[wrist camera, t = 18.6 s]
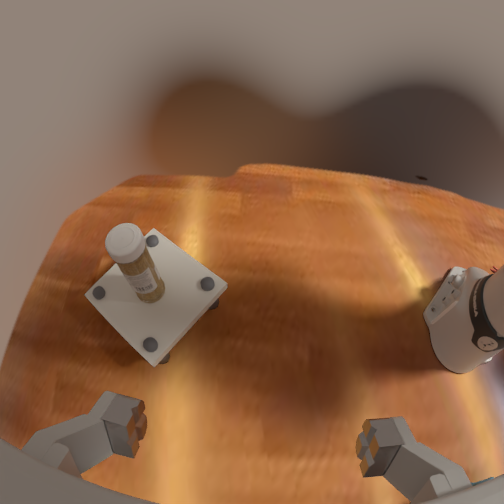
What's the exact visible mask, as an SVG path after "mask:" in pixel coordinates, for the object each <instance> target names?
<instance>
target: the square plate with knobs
mask: <svg viewBox="0 0 504 504" xmlns="http://www.w3.org/2000/svg"><path fill="white" fill-rule="evenodd" d="M144 239H145V245H146V247H147V249H148V251H149V254H150V256H151V258H152V260H153V262H154V263H155V265H156V268H157V270H158V272H159V274H160V277H161V279H162V280H163V281H164V284H165V293H164V295H163V296H162V297H161V299H160V300H158V301H156V302H154V303H145V302H143V301H141V300H140V299H139V298H138V296H137V294H136V292H135V291H134V290H133V289H132V287H131V286H130V284H129V283H128V281H127V280H126V278H125V277H124V275H123V274H122V272H121V270H120V268H119V266H118V265H117V263H116V264H114V265H113V266H112V267H111V268H110V269H109V270H108V271H107V272H106V273H105V274H104V275H103V276H102V277H101V278H100V279H99V280H98V281H97V282H96V283H95V284H94V285H93V286H92V287H91V288H90V289H89V290H88V291H87V292H86V293H85V294H84V295H85V296H86V298H87V299H88V300H89V301H90V302H91V303H92V304H93V306H94V307H95V308H96V309H97V310H98V311H99V312H100V313H101V314H102V315H103V317H104V318H105V319H106V320H107V321H108V322H109V323H110V324H111V325H112V326H113V327H114V328H115V329H116V330H117V331H118V333H119V334H120V335H121V336H122V337H123V338H124V339H125V340H126V341H127V342H128V343H129V344H130V345H131V346H132V347H133V348H134V349H135V350H136V351H137V352H138V353H139V354H140V355H141V356H143V357H144V358H145V359H146V360H147V361H148V362H149V363H150V364H151V365H152V366H153V367H155V366H156V365H157V364H158V363H160V364H164V363H166V362H168V360H169V358H170V355H169V353H168V352H169V351H170V350H171V349H172V348H173V347H174V346H175V345H176V344H177V342H178V341H179V340H180V339H181V338H182V337H183V336H184V335H185V334H186V333H187V332H188V330H189V329H190V328H191V327H192V326H193V325H194V324H195V323H196V322H197V321H198V319H199V318H200V317H201V316H202V315H203V314H204V313H205V312H206V311H207V310H208V309H215V308H216V307H217V306H218V305H219V300H218V298H219V296H220V295H221V294H222V293H223V292H224V291H225V290H226V289H227V288H228V286H227V282H225V281H224V280H222V279H221V278H220V277H218V276H217V275H216V274H214V273H213V272H211V271H210V270H209V269H207V268H206V267H205V266H203V265H202V264H201V263H199V262H198V261H197V260H195V259H194V258H193V257H191V256H190V255H189V254H187V253H186V252H185V251H183V250H182V249H181V248H179V247H178V246H177V245H175V244H174V243H173V242H171V241H170V240H169V239H167V238H166V237H165V236H163V235H162V234H161V233H159V232H158V231H157V230H156V229H154V228H153V229H152V230H151V231H150V232H149V233H148V234H147V235H145V236H144Z"/></svg>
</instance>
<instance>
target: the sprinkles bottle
mask: <svg viewBox="0 0 504 504" xmlns="http://www.w3.org/2000/svg"><path fill="white" fill-rule="evenodd" d="M105 246H106V249H107V251H108V253H109V255H110V256H111V258H112V259H113V260H114V261H115V262H116V263H117V265H118V266H119V268H120V270H121V272H122V274H123V275H124V277H125V278H126V280H127V281H128V283H129V284H130V286H131V287H132V289H133V290H134V291H135V292H136V294H137V296H138V298H139V299H140V300H141V301H143V302H145V303H154V302H156V301H158V300H160V299H161V297H162V296H163V295H164V293H165V284H164V281H163V280H162V279H161V277H160V274H159V272H158V270H157V268H156V265H155V263H154V262H153V260H152V258H151V256H150V254H149V251H148V249H147V247H146V245H145V239H144V236H143V234H142V232H141V230H140V229H139V227H137V226H136V225H134V224H131V223H123V224H120V225H117V226H116V227H114V228H113V229H112V230H111V231H110V232H109V233H108V235H107V237H106V240H105Z"/></svg>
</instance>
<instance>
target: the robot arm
mask: <svg viewBox="0 0 504 504" xmlns="http://www.w3.org/2000/svg"><path fill="white" fill-rule="evenodd" d="M493 268H494V269H495V270H494V269H490V270H491V271H492V272H493V273H494V274H491V275H490V274H488V273H487V272H486V271H484V270H482V269H480V268H477V267H470V268H468V269H467V270H466V269H464V268H461V267H453V268H452V269H451V270H450V272H449V273H448V275H447V277H446V278H445V280H444V281H443V283H442V285H441V286H440V288H439V289H438V291H437V292H436V294H435V295H434V297H433V298H432V300H431V301H430V303H429V304H428V306H427V307H426V309H425V310H424V312H423V316H424V319H425V321H426V323H427V325H428V327H429V330H430V337H431V343H432V347H433V349H434V352H435V354H436V356H437V358H438V359H439V361H440V362H441V363H442V364H443V365H444V366H445V367H446V368H447V369H449V370H451V371H453V372H456V373H467V372H469V371H471V370H473V369H474V368H475V367H477V366H478V365H480V364H485V363H488V362H489V361H491V360H492V357H493V356H494V355H495V354H497V353H498V352H500V351H501V350H503V349H504V264H503V266H502V267H501V268H500V269H499V270H498V269H497V268H496V267H494V266H493ZM431 309H432V310H433V311H432V310H431ZM144 410H145V404H144V401H143V400H140V399H136V398H132V397H128V396H125V395H121V394H116V393H113V392H110V391H105V392H104V393H103V394H102V396H101V397H100V398H99V400H98V401H97V402H96V404H95V405H94V407H93V408H92V409H91V411H90V412H89V413H88V415H85V414H83V415H80V416H78V417H75V418H73V419H70V420H67V421H65V422H62V423H59V424H56V425H54V426H51V427H48V428H45V429H42V430H39V431H36V432H35V434H34V435H33V436H32V437H31V438H30V440H29V441H28V442H27V443H26V445H25V446H24V447H23V448H22V450H20V449H18V448H17V447H15V446H13V445H11V444H10V443H8V442H6V441H5V440H3V439H1V438H0V504H159V503H155V502H151V501H147V500H143V499H140V498H136V497H133V496H129V495H126V494H123V493H119V492H116V491H113V490H110V489H107V488H104V487H102V486H99V485H96V484H93V483H91V482H88V481H86V480H83V478H82V476H81V474H82V473H83V472H85V471H87V470H88V469H90V468H92V467H93V466H95V465H97V464H98V463H100V462H101V461H103V460H105V459H106V458H108V457H109V456H111V455H113V453H115V454H119V455H122V456H126V457H130V458H135V456H136V453H137V451H138V449H139V447H140V446H139V441H140V440H142V439H143V438H144V436H145V433H146V429H147V417H146V415H145V414H144V413H143V412H144ZM362 428H363V432H362V433H360V434H359V435H358V438H357V440H356V454H357V457H358V458H359V459H361V460H362V461H361V463H360V468H361V472H362V475H363V477H374V476H383V477H384V478H385V479H387V480H388V481H389V482H390V483H391V484H392V485H393V486H394V487H395V488H396V489H397V490H399V491H400V492H401V493H402V494H403V495H404V496H405V497H406V498H407V499H409V500H410V501H411V503H410V504H504V474H502V475H500V476H498V477H495V478H493V479H491V480H488V481H486V482H483V483H481V484H478V485H476V486H472V484H471V482H470V481H469V479H468V477H467V475H466V473H465V472H464V470H463V468H462V467H461V466H459V465H458V464H456V463H454V462H452V461H451V460H449V459H447V458H445V457H444V456H442V455H440V454H439V453H437V452H435V451H433V450H432V449H430V448H428V447H427V446H425V445H423V444H422V443H417V442H416V440H415V438H414V436H413V434H412V432H411V430H410V429H409V427H408V425H407V423H406V421H405V419H404V418H403V417H402V416H399V417H390V418H379V419H366V420H365V421H364V423H363V426H362Z"/></svg>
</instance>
